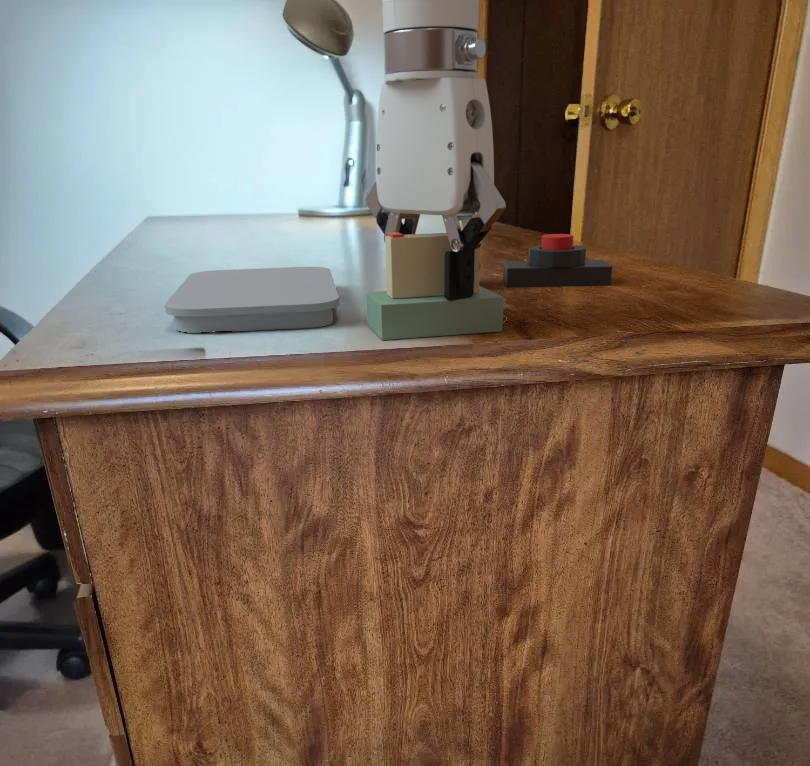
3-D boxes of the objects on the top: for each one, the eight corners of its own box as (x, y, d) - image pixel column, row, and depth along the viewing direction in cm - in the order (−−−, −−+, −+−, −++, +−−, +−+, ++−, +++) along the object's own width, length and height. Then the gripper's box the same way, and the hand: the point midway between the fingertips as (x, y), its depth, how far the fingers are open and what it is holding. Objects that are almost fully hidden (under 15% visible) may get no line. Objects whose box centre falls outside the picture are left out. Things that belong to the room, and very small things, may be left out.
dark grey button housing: (600, 278, 97) (603, 243, 95) (611, 286, 91) (614, 249, 89) (502, 279, 98) (503, 245, 96) (506, 288, 92) (508, 252, 90)
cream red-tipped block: (471, 289, 73) (472, 228, 71) (479, 293, 71) (480, 231, 69) (386, 294, 71) (384, 232, 69) (392, 298, 69) (390, 235, 67)
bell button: (569, 249, 94) (571, 233, 94) (574, 252, 91) (575, 236, 90) (539, 249, 94) (540, 234, 94) (543, 253, 91) (544, 237, 90)
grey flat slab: (163, 336, 72) (159, 310, 71) (195, 290, 95) (192, 271, 94) (341, 327, 74) (340, 302, 73) (330, 285, 97) (329, 265, 96)
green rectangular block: (478, 317, 77) (479, 285, 75) (502, 331, 70) (503, 297, 69) (367, 324, 74) (365, 292, 73) (382, 340, 68) (380, 304, 67)
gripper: (547, 54, 60) (534, 299, 68) (389, 72, 71) (394, 280, 79) (483, 48, 55) (477, 311, 63) (325, 67, 66) (337, 290, 74)
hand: (431, 292), depth 71 cm, fingers open, 5 cm apart
